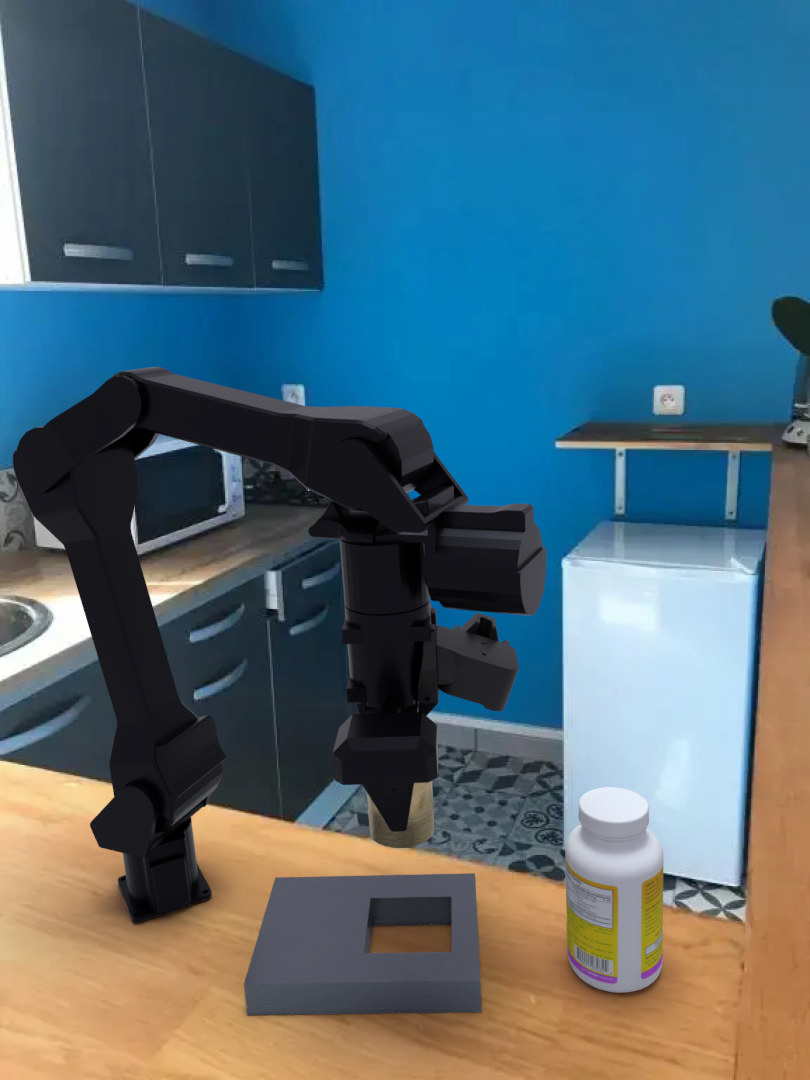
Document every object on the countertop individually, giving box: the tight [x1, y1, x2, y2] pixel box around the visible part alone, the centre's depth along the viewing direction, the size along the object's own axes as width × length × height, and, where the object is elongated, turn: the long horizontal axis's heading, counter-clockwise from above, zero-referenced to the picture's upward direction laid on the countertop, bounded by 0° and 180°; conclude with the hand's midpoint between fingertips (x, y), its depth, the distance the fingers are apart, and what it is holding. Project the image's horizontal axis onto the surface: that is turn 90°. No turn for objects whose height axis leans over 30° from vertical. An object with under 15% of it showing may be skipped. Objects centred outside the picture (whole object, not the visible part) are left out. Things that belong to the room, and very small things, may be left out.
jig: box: [243, 872, 483, 1016], centre depth 69 cm, size 16×12×2 cm
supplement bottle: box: [564, 786, 664, 994], centre depth 65 cm, size 7×7×13 cm
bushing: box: [366, 780, 435, 849], centre depth 66 cm, size 5×5×7 cm
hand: (400, 811), depth 66 cm, fingers closed on bushing, 5 cm apart
